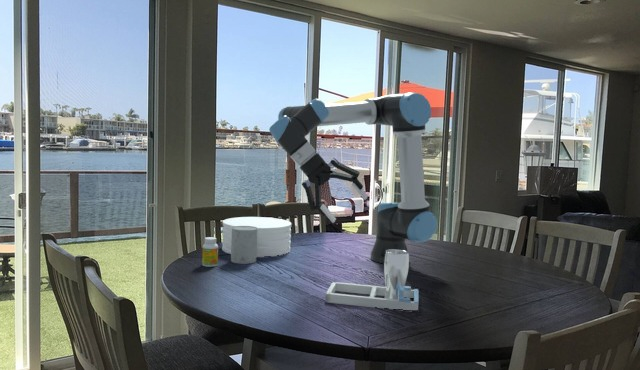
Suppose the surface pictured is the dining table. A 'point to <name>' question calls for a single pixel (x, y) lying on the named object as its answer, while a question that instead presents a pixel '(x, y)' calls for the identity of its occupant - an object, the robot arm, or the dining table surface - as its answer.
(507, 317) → the dining table surface
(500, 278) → the dining table surface
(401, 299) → the light blue bracket
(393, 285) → the beer glass
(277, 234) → the plate stack
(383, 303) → the frame
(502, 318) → the dining table surface
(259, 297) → the dining table surface
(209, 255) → the supplement bottle
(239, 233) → the gray cylinder
